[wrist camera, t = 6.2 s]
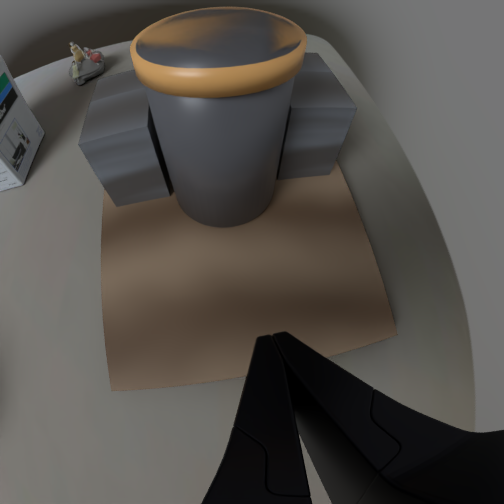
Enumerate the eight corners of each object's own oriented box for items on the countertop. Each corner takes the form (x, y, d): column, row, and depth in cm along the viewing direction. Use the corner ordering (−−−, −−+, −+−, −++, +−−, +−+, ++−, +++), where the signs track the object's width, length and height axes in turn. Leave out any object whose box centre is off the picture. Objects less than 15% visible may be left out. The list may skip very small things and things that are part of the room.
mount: (389, 337, 15) (466, 312, 9) (118, 390, 14) (47, 396, 7) (308, 116, 22) (325, 47, 16) (115, 143, 20) (87, 76, 14)
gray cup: (288, 221, 16) (335, 69, 7) (175, 239, 16) (118, 90, 7) (264, 140, 19) (279, 5, 10) (170, 154, 18) (139, 19, 9)
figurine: (88, 63, 26) (73, 30, 20) (116, 60, 26) (103, 24, 20) (67, 92, 25) (47, 58, 19) (95, 90, 25) (77, 53, 19)
